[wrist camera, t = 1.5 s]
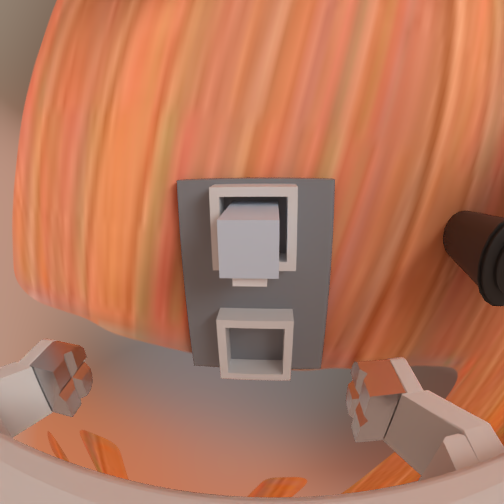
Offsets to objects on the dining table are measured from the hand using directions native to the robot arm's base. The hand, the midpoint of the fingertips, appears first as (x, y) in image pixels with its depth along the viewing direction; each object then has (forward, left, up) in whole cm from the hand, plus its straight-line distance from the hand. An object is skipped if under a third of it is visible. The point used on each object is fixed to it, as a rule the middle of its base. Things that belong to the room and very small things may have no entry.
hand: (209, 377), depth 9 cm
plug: (0, 0, -21) cm, 21 cm away
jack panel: (0, +6, -22) cm, 23 cm away
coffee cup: (-22, +1, -22) cm, 31 cm away
